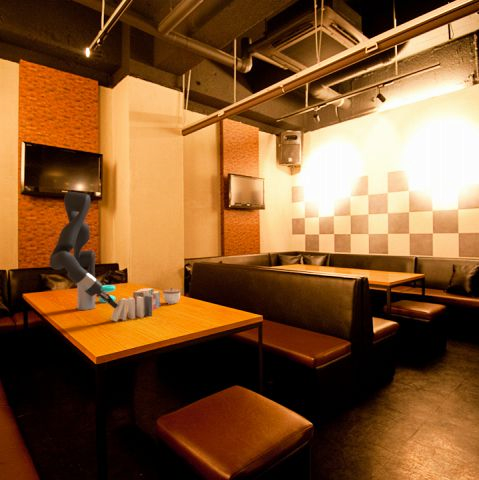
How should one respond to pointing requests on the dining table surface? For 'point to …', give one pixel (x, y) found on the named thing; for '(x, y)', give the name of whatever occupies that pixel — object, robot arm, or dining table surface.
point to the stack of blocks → (149, 292)
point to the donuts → (108, 289)
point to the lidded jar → (171, 295)
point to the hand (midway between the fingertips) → (116, 306)
